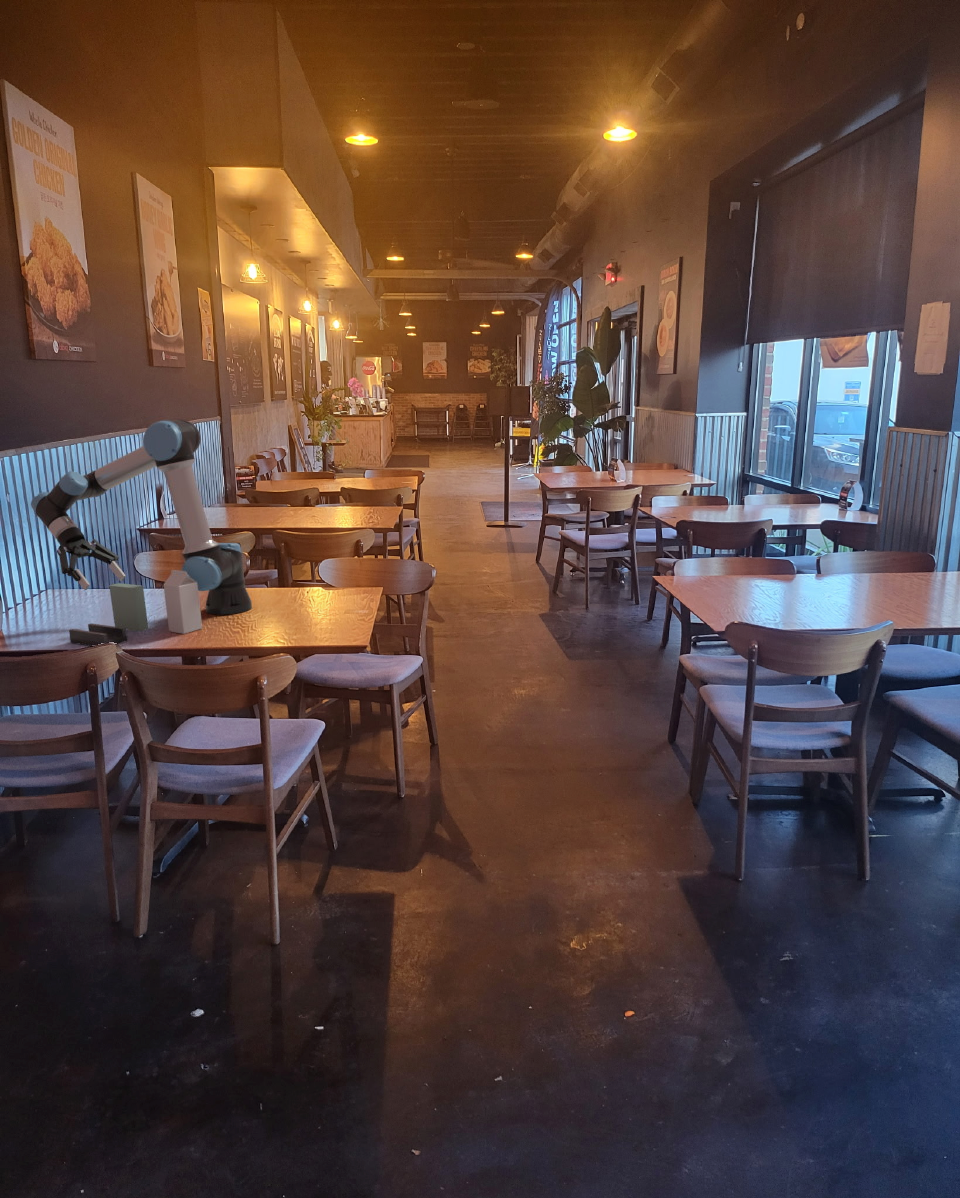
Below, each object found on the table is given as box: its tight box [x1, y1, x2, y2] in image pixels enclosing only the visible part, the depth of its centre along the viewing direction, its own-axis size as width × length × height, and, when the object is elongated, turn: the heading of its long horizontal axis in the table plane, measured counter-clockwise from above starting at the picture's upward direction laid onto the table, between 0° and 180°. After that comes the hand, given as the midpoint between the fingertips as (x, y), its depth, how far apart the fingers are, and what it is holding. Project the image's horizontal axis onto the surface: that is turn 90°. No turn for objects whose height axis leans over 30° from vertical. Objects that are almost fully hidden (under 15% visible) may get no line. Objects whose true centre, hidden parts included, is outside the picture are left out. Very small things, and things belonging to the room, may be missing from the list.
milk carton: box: [163, 569, 203, 635], centre depth 263 cm, size 7×7×19 cm
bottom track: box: [68, 623, 128, 647], centre depth 255 cm, size 15×8×4 cm, turn 63°
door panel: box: [108, 582, 149, 633], centre depth 268 cm, size 11×4×14 cm, turn 63°
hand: (105, 582), depth 270 cm, fingers open, 13 cm apart
